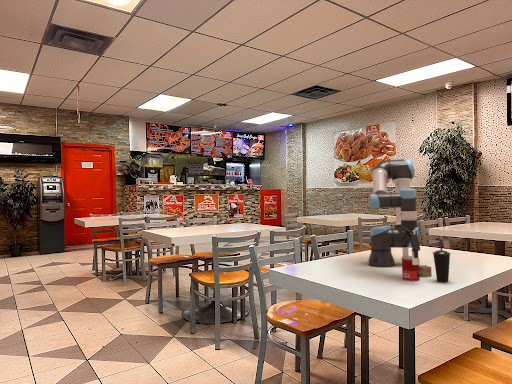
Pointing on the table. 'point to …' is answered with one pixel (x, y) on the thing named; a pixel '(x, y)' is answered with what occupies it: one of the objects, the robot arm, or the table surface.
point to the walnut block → (425, 271)
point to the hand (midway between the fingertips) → (410, 262)
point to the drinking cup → (442, 264)
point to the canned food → (410, 269)
